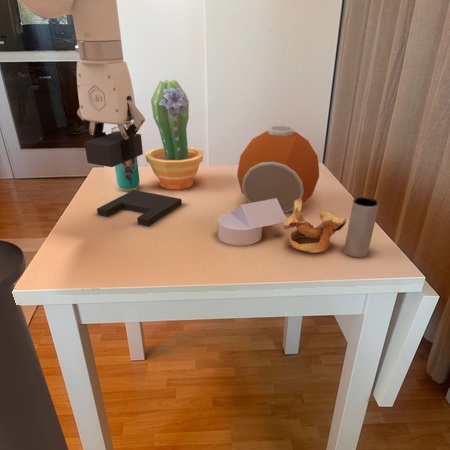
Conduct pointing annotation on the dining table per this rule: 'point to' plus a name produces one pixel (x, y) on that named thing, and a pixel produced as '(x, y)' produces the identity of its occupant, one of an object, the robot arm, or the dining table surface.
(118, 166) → the beverage can
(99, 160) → the black rectangular block
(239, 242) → the wedge on round base
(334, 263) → the dining table surface
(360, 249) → the grey cylinder
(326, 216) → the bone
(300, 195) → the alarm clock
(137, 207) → the base pad
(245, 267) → the dining table surface
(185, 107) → the potted cactus
